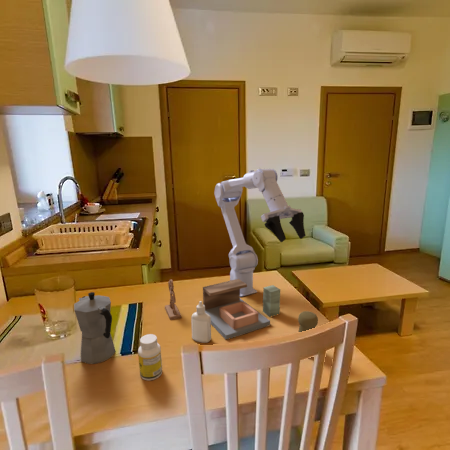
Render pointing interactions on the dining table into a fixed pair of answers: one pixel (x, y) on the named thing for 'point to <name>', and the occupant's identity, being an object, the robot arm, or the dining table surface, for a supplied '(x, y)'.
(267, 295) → the peg
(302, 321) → the olive rounded piece
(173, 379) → the dining table surface
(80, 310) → the coffeepot
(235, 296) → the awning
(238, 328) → the socket stand
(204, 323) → the eye dropper bottle
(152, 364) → the supplement bottle
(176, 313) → the brown statuette
